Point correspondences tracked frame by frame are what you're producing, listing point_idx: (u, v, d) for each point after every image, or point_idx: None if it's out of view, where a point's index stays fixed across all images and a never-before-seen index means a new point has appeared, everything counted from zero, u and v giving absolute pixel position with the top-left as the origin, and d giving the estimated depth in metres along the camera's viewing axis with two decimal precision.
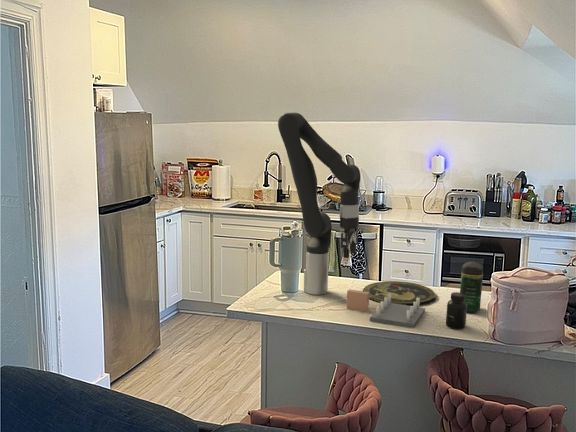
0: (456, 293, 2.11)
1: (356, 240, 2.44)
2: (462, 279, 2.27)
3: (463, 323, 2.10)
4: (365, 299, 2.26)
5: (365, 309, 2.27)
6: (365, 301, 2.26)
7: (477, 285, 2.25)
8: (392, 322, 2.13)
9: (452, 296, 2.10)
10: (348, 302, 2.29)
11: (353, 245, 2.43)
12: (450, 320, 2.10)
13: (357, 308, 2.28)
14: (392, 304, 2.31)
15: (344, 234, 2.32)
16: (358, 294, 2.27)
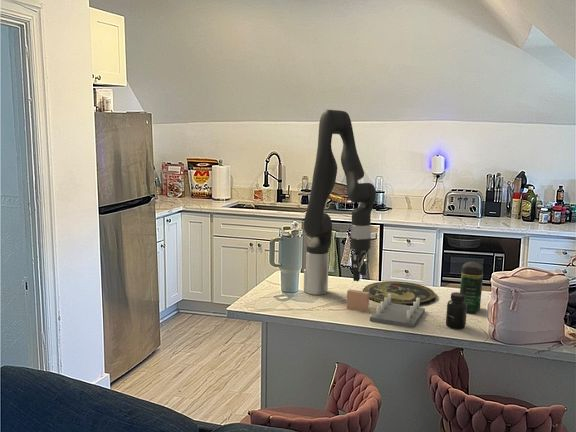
0: (456, 293, 2.11)
1: (367, 262, 2.31)
2: (462, 279, 2.27)
3: (463, 323, 2.10)
4: (365, 299, 2.26)
5: (365, 309, 2.27)
6: (365, 301, 2.26)
7: (477, 285, 2.25)
8: (392, 322, 2.13)
9: (452, 296, 2.10)
10: (348, 302, 2.29)
11: (363, 267, 2.30)
12: (450, 320, 2.10)
13: (357, 308, 2.28)
14: (392, 304, 2.31)
15: (355, 256, 2.19)
16: (358, 294, 2.27)
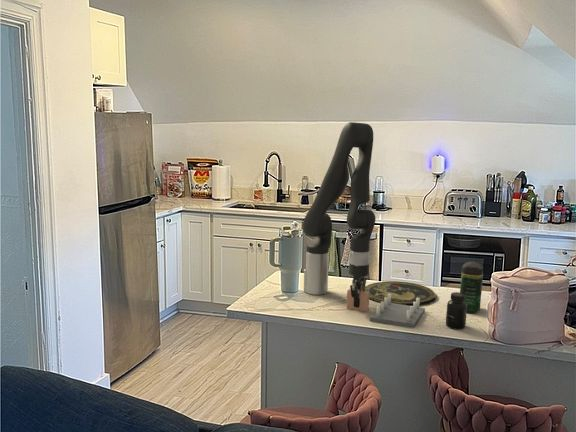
0: (456, 293, 2.11)
1: (363, 290, 2.31)
2: (462, 279, 2.27)
3: (463, 323, 2.10)
4: (365, 299, 2.26)
5: (365, 309, 2.27)
6: (365, 301, 2.26)
7: (477, 285, 2.25)
8: (392, 322, 2.13)
9: (452, 296, 2.10)
10: (348, 302, 2.29)
11: None
12: (450, 320, 2.10)
13: (357, 308, 2.28)
14: (392, 304, 2.31)
15: (353, 287, 2.22)
16: None
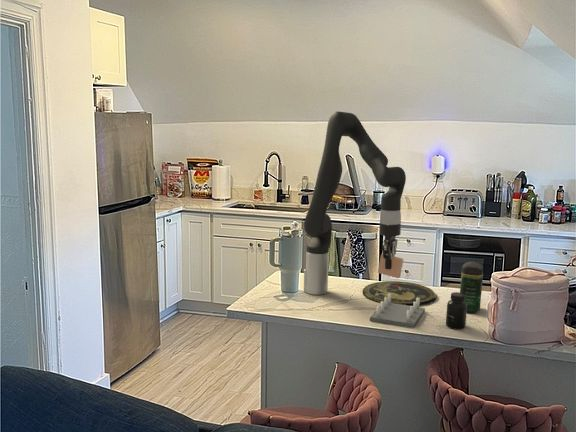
0: (456, 293, 2.11)
1: (394, 252, 2.22)
2: (462, 279, 2.27)
3: (463, 323, 2.10)
4: (399, 265, 2.18)
5: (397, 275, 2.19)
6: (398, 267, 2.18)
7: (477, 285, 2.25)
8: (392, 322, 2.13)
9: (452, 296, 2.10)
10: (380, 266, 2.21)
11: None
12: (450, 320, 2.10)
13: (389, 274, 2.20)
14: (392, 304, 2.31)
15: (385, 247, 2.13)
16: (392, 260, 2.18)
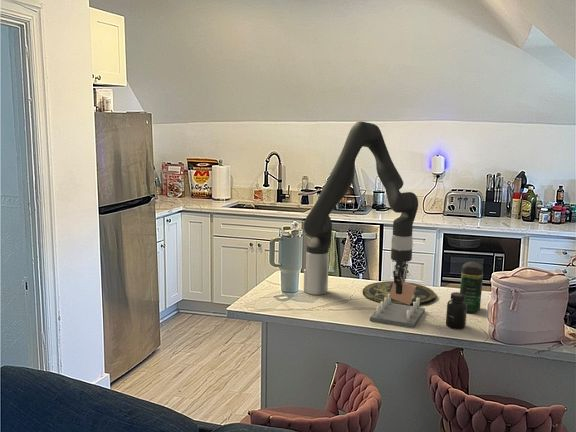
0: (456, 293, 2.11)
1: (405, 277, 2.22)
2: (462, 279, 2.27)
3: (463, 323, 2.10)
4: (411, 292, 2.17)
5: (408, 302, 2.18)
6: (410, 294, 2.18)
7: (477, 285, 2.25)
8: (392, 322, 2.13)
9: (452, 296, 2.10)
10: (392, 291, 2.20)
11: None
12: (450, 320, 2.10)
13: (400, 299, 2.20)
14: (392, 304, 2.31)
15: (397, 273, 2.13)
16: (405, 286, 2.18)
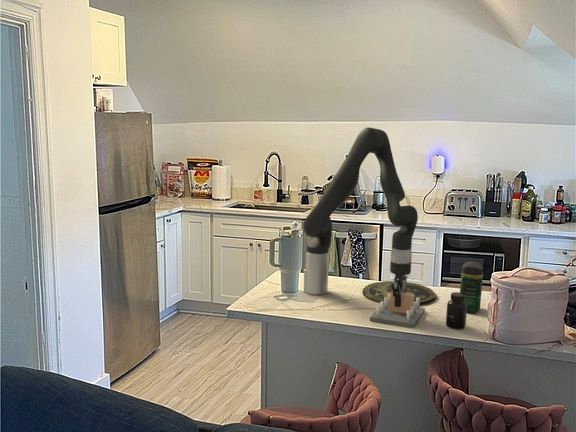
0: (456, 293, 2.11)
1: (404, 289, 2.23)
2: (462, 279, 2.27)
3: (463, 323, 2.10)
4: (410, 302, 2.18)
5: None
6: (410, 304, 2.18)
7: (477, 285, 2.25)
8: (392, 322, 2.13)
9: (452, 296, 2.10)
10: (391, 303, 2.21)
11: None
12: (450, 320, 2.10)
13: (400, 310, 2.20)
14: None
15: (396, 286, 2.14)
16: (403, 297, 2.19)
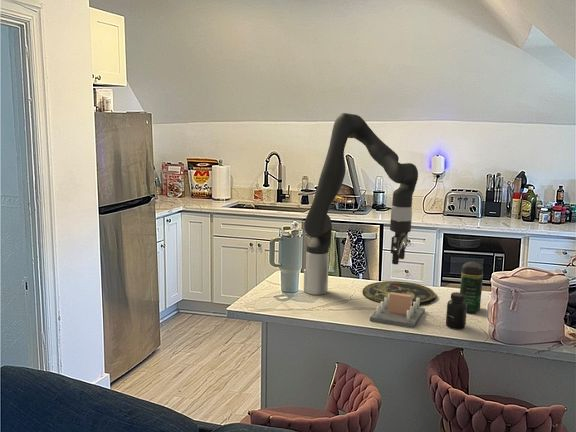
0: (456, 293, 2.11)
1: (405, 245, 2.24)
2: (462, 279, 2.27)
3: (463, 323, 2.10)
4: (409, 302, 2.18)
5: None
6: (408, 304, 2.18)
7: (477, 285, 2.25)
8: (392, 322, 2.13)
9: (452, 296, 2.10)
10: (390, 305, 2.21)
11: (402, 250, 2.23)
12: (450, 320, 2.10)
13: (400, 312, 2.20)
14: None
15: (395, 238, 2.12)
16: (401, 297, 2.19)
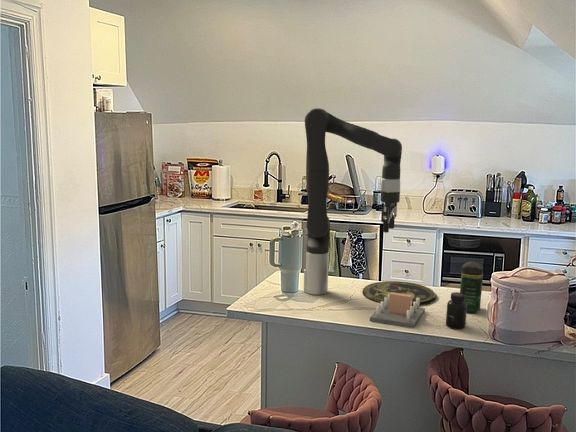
0: (456, 293, 2.11)
1: (395, 215, 2.42)
2: (462, 279, 2.27)
3: (463, 323, 2.10)
4: (409, 302, 2.18)
5: None
6: (408, 304, 2.18)
7: (477, 285, 2.25)
8: (392, 322, 2.13)
9: (452, 296, 2.10)
10: (390, 305, 2.21)
11: (392, 220, 2.41)
12: (450, 320, 2.10)
13: (400, 312, 2.20)
14: None
15: (385, 208, 2.30)
16: (401, 297, 2.19)
